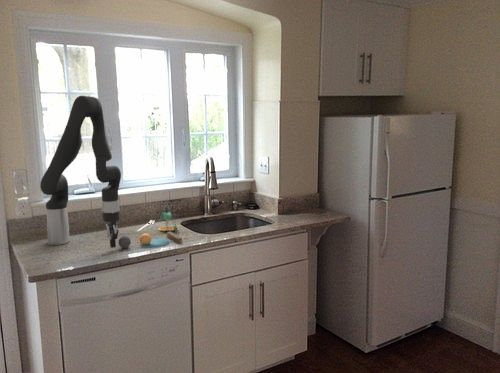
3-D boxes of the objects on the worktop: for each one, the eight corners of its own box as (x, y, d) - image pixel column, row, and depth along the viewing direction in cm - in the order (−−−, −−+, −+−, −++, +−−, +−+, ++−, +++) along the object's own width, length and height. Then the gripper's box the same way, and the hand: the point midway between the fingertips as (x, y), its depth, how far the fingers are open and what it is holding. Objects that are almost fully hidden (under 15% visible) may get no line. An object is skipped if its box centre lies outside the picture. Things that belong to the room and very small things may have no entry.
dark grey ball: (129, 233, 204) (135, 243, 206) (122, 234, 208) (128, 243, 209) (120, 240, 200) (126, 250, 202) (114, 240, 204) (119, 250, 206)
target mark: (145, 249, 203) (145, 249, 203) (136, 241, 214) (136, 241, 214) (174, 244, 210) (174, 244, 210) (163, 237, 222) (163, 237, 222)
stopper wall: (178, 243, 211) (178, 238, 211) (167, 236, 223) (167, 232, 222) (182, 243, 212) (181, 238, 212) (170, 236, 224) (170, 231, 223)
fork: (134, 232, 234) (134, 228, 234) (150, 222, 253) (150, 219, 253) (140, 232, 233) (140, 228, 233) (155, 223, 253) (155, 219, 252)
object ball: (141, 233, 206) (152, 232, 209) (137, 234, 210) (148, 232, 213) (142, 245, 205) (153, 243, 208) (138, 245, 210) (149, 244, 213)
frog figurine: (165, 236, 225) (163, 207, 224) (154, 231, 241) (152, 205, 239) (183, 233, 230) (180, 205, 229) (171, 229, 245) (169, 202, 244)
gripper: (98, 208, 202) (101, 244, 205) (106, 214, 191) (108, 252, 194) (115, 206, 206) (117, 242, 209) (123, 211, 195) (125, 249, 198)
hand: (113, 247), depth 202 cm, fingers closed
